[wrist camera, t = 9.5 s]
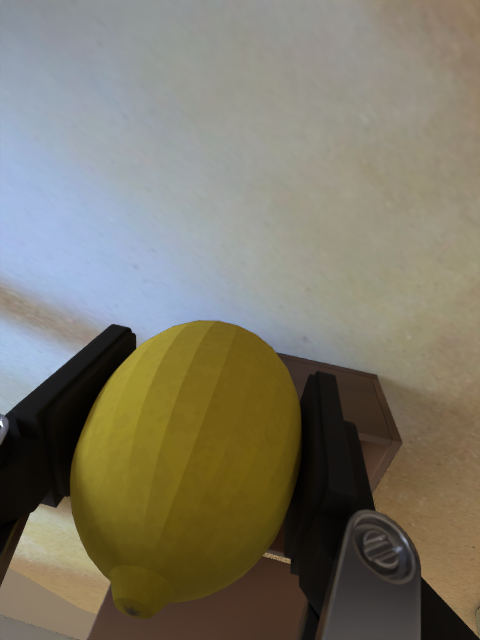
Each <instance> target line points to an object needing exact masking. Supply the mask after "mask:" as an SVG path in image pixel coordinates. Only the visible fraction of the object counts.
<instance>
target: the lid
mask: <svg viewBox="0 0 480 640" xmlns="http://www.w3.org/2000/svg"><path fill="white" fill-rule="evenodd" d="M290 565H291V564H289V563H285V562H281V561H278V560H274V559H270V558H267V557H263V556H262V557H261V558H260V559H259V561H258V562H257V563H256V564H255V565H254V566H253V567H252V568H251V569H250V570H249V571H248V572H246V573H245V574H244V575H243V576H242V577H241V578H239V579H238V580H236V581H235V582H233V583H232V584H230V585H229V586H227V587H225V588H223V589H221V590H219V591H217V592H215V593H213V594H210V595H208V596H206V597H204V598H200V599H195V600H190V601H185V602H179V603H168V604H167V605H166V606H165V607H164V608H162V609H161V610H160V611H159V612H158V613H157V614H155V615H154V616H153V617H152V618H150V619H137V618H133V617H130V616H128V615H126V614H124V613H122V612H121V611H119V610H118V609H117V608H116V607H115V605H114V602H113V596H112V589H111V583H110V586H109V588H108V590H107V593H106V595H105V597H104V600H103V602H102V604H101V607H100V609H99V611H98V614H97V616H96V619H95V621H94V623H93V625H92V628H91V630H90V632H89V635H88V637H87V639H86V640H295V636H296V633H297V629H298V626H299V622H300V619H301V615H302V612H303V608H304V605H305V601H306V596H305V595H304V593H303V592H302V590H301V589H300V587H299V576H297V575H294V574H290Z"/></svg>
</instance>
